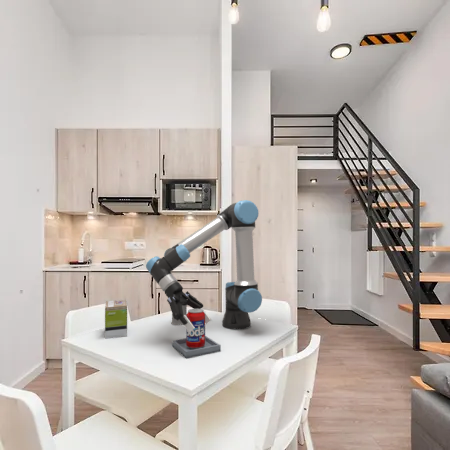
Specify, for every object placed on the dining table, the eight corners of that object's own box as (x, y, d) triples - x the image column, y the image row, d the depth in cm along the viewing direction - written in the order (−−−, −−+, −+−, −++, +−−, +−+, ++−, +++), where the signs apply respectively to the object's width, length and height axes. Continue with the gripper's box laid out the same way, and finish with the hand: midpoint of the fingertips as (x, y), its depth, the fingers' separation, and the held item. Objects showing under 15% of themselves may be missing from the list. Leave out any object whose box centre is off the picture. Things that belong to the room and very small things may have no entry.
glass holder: (170, 321, 166) (170, 294, 167) (195, 319, 170) (195, 293, 171) (172, 326, 157) (172, 297, 158) (198, 323, 162) (198, 295, 163)
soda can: (204, 343, 128) (204, 307, 129) (205, 349, 120) (205, 312, 121) (186, 344, 127) (186, 308, 128) (186, 350, 119) (186, 312, 120)
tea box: (105, 330, 150) (105, 300, 151) (126, 328, 154) (126, 299, 155) (104, 339, 136) (105, 306, 137) (127, 336, 140) (127, 304, 141)
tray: (204, 340, 134) (204, 335, 134) (220, 351, 121) (220, 345, 121) (172, 346, 126) (172, 340, 127) (186, 358, 113) (186, 351, 114)
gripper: (181, 288, 143) (209, 324, 135) (147, 297, 120) (178, 340, 113) (191, 277, 141) (219, 313, 134) (158, 284, 118) (190, 327, 111)
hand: (200, 325), depth 123 cm, fingers open, 13 cm apart
